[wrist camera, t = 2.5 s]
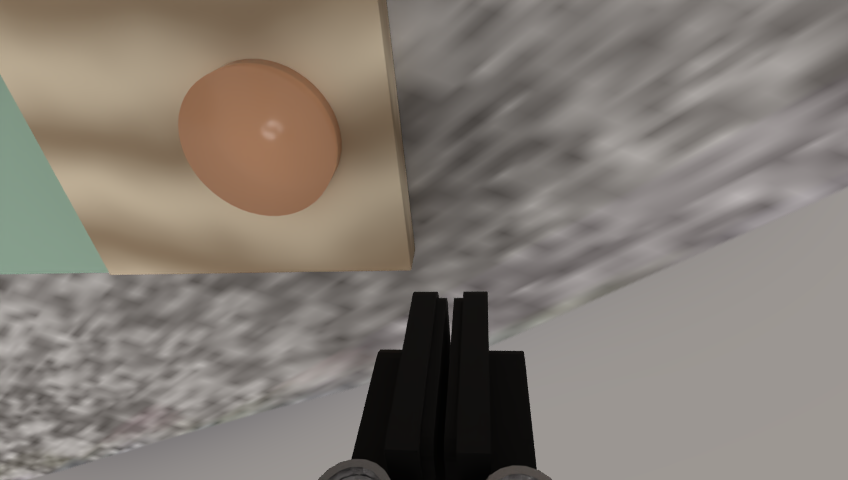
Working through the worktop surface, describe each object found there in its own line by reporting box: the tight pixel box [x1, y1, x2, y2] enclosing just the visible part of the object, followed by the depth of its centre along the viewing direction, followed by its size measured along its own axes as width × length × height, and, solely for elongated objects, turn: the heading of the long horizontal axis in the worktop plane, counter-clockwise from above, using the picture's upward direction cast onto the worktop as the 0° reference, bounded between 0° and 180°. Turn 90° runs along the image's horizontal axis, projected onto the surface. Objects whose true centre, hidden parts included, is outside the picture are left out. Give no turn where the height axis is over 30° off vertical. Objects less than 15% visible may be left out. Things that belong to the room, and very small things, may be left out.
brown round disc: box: [178, 59, 342, 216], centre depth 22 cm, size 7×7×2 cm
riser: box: [0, 0, 415, 275], centre depth 24 cm, size 16×18×2 cm
